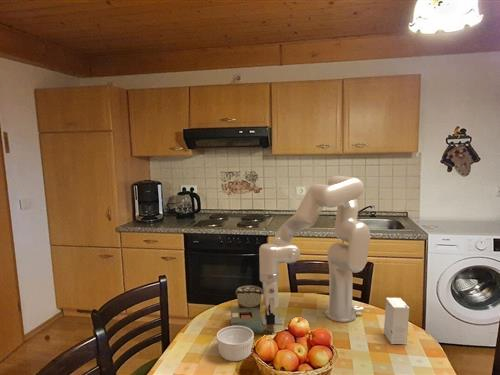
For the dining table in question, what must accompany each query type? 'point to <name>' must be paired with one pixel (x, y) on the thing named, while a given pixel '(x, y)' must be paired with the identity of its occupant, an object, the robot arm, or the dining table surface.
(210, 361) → the dining table surface
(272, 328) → the brown upright bar
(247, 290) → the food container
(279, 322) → the rest mat
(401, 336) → the skincare box
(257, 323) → the switch box
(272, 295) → the robot arm
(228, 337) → the ramekin
